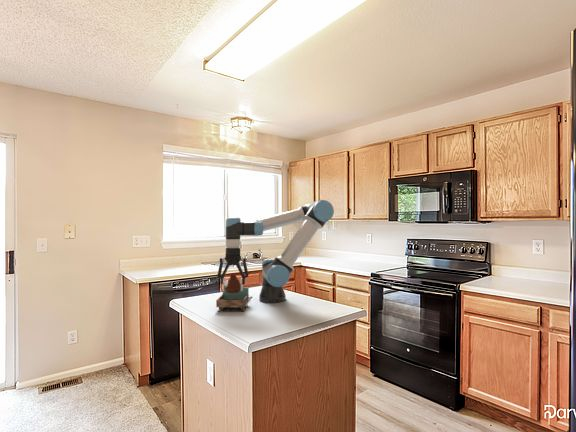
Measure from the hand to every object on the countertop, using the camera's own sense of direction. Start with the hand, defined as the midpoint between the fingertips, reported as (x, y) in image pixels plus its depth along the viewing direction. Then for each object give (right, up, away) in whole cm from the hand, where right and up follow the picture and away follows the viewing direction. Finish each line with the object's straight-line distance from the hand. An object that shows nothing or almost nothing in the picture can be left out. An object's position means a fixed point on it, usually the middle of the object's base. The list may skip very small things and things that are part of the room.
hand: (233, 290), depth 172 cm
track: (0, -9, +8) cm, 12 cm away
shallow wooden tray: (0, -9, -1) cm, 9 cm away
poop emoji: (0, -1, 0) cm, 1 cm away
